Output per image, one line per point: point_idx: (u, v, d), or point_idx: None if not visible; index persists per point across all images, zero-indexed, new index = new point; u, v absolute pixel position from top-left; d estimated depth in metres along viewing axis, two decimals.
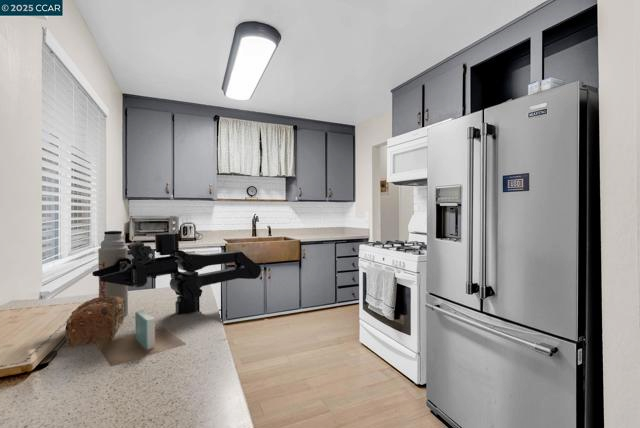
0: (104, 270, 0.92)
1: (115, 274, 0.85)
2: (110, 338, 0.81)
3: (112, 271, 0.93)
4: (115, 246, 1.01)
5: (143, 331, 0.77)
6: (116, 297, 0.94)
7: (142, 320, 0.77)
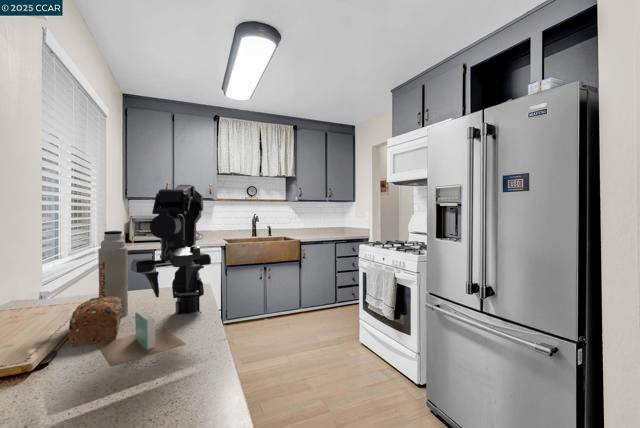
0: None
1: None
2: (114, 337, 0.82)
3: None
4: (115, 246, 1.01)
5: (143, 331, 0.77)
6: (114, 297, 0.94)
7: (142, 320, 0.77)
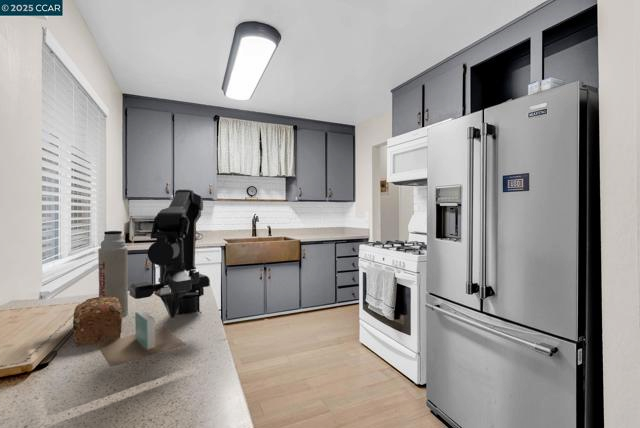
0: None
1: None
2: (118, 335, 0.83)
3: None
4: (115, 246, 1.01)
5: (143, 331, 0.77)
6: (111, 297, 0.94)
7: (142, 320, 0.77)
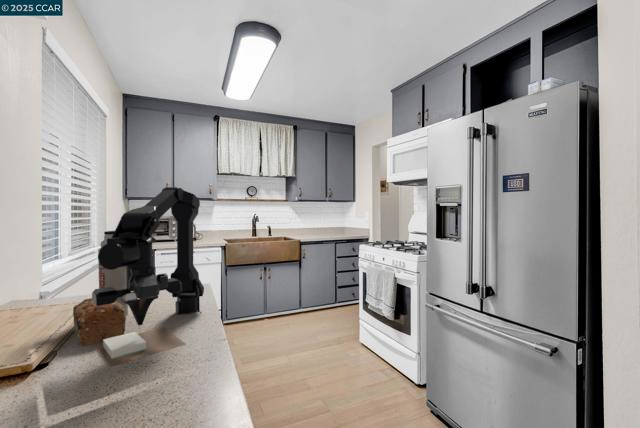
0: None
1: None
2: (122, 334, 0.84)
3: None
4: None
5: None
6: None
7: None
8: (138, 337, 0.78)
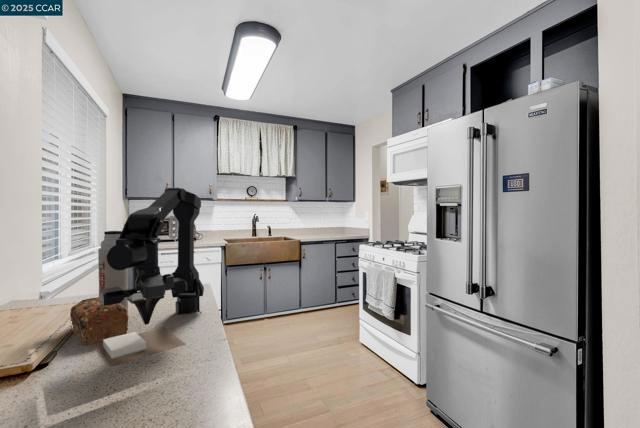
0: None
1: None
2: (125, 333, 0.84)
3: None
4: None
5: None
6: None
7: None
8: (138, 337, 0.78)
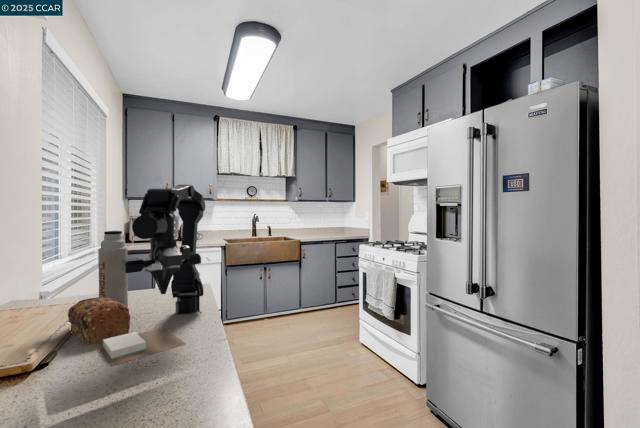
0: None
1: None
2: (127, 332, 0.85)
3: None
4: (115, 246, 1.01)
5: None
6: (105, 297, 0.94)
7: None
8: (138, 337, 0.78)
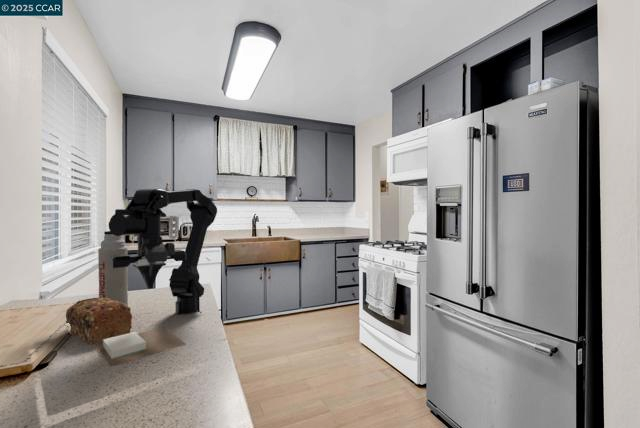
0: None
1: None
2: (129, 331, 0.86)
3: None
4: (115, 246, 1.01)
5: None
6: (103, 297, 0.94)
7: None
8: (138, 337, 0.78)
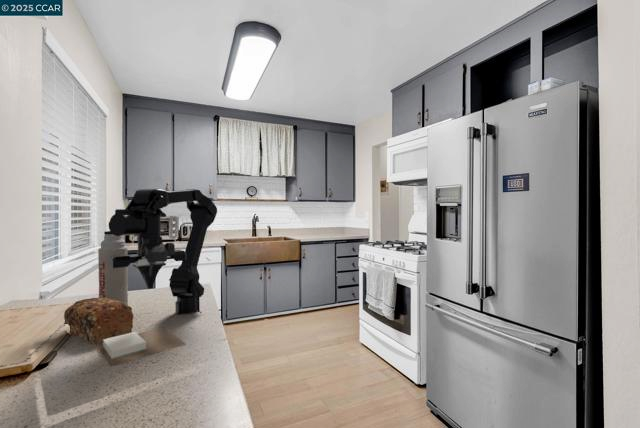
0: None
1: None
2: (130, 330, 0.86)
3: None
4: (115, 246, 1.01)
5: None
6: (101, 298, 0.94)
7: None
8: (138, 337, 0.78)
